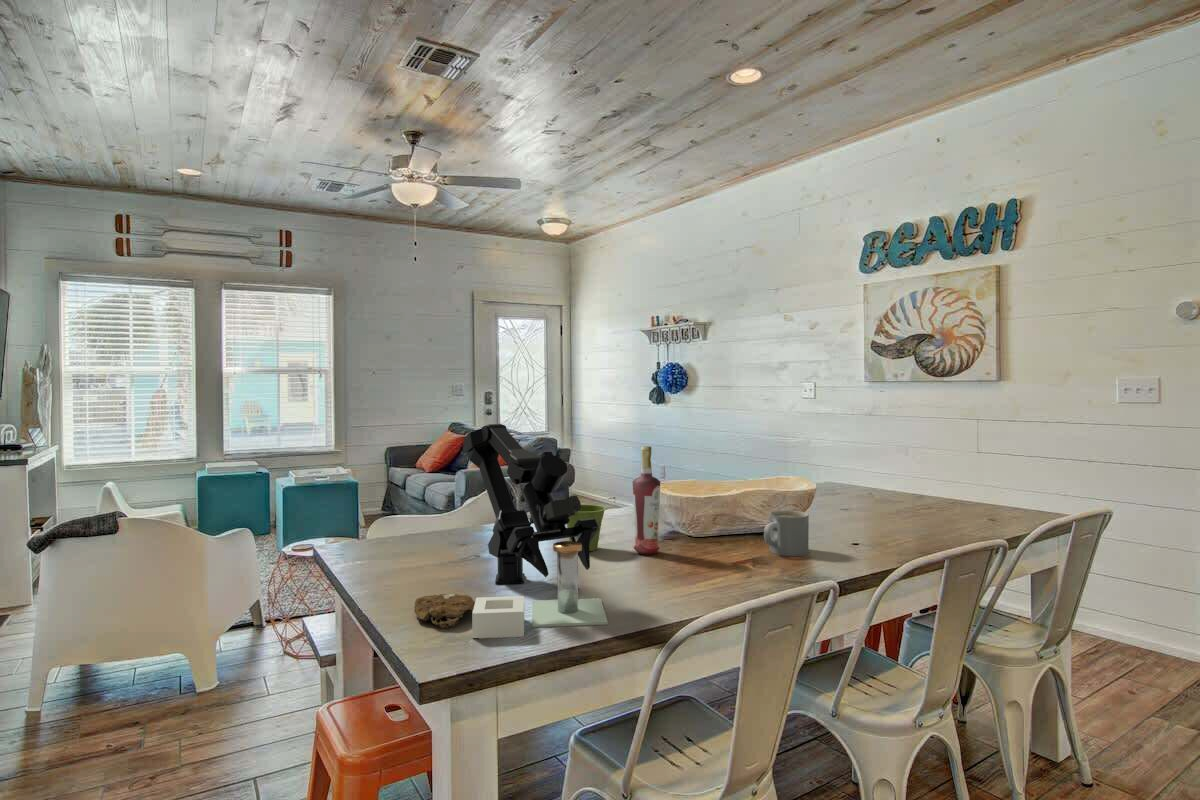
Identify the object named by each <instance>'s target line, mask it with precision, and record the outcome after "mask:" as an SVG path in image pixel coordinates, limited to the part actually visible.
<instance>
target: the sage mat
mask: <svg viewBox="0 0 1200 800" xmlns="http://www.w3.org/2000/svg"><path fill="white" fill-rule="evenodd" d="M531 602H532V605H531V606H532V607H531V608H532V609H531V610H532V611H531V614H532V616H531V617H532V618H531V621H532V622H531V623H532V625H531V626H532V628H547V627H549V628H550V627H551V628H552V627H574V626H575V627H577V626H597V625H599V626H601V625H602V626H604V625H609V623H608V622H609V621H608V617H607V614H606V612H605V608H604V606H603V603H602V599H601V598H600V597H599V598H578V611H577V612H576V613H572V614H563V613H559V612H558V599H545V600H544V599H543V600H541V599H540V600H532V601H531Z"/></svg>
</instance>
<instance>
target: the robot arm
mask: <svg viewBox="0 0 1200 800" xmlns="http://www.w3.org/2000/svg"><path fill="white" fill-rule="evenodd" d="M507 428H508V427H507V425H505V424H503V423H492V424H491V423H489V424H486V425H483V426H482V427H481V428H479V429H476V430H474V431H471V432H468V434H467V435H466V436H465V437H464V438H463V440H462V447H463V450H464V452H465V453H466V455H467V457H468V460H469V462H471V463H472V464H474V466H476V467H477V468H478V470H479V471H480V475H481V477H482V480H483V483H484V487H485V489H486V492H487V495H488V498H489V501H490V505H491V506H492V507H491V508H492V510H493V513H494V516H495V521H494V524H493V528H492V533H493V534H491V538H490V540H489V542H487V543H488V544H487V547H488V553H489V555H492V556H493V557H495V558H497V574H496V575H495V581H494V582H495V585H503V584H505V585H507V584H524V583H525V577H526V575H525V574H526V573H524V569H523V568H524V567H523V566H524V564H523V563H524V561H526V562H527V563H529V564H530V565H531V566H533V568H535V569H536V570H537V571H538V572H539V573H540V574H542V575H543V576H544V577H548V576H549V570H548V566H547V563H546V562H545V559H544V557H543V554H542V552H541V548H540V546H539V545H540V544H539V542H540V543H541V542H546V541H555V540H562V539H567V538H568V539H569V538H570V537H571V540H572V541H575V542H580V543H581V544H582V550H581V551H579V552H578V559H579V561H580V562H581V564H582V565H583V567H584V569H586V570H587V571H588V570H589V569H590V567H591V559H590V555H591V554H590V551H589V544H590V541H591V540H592V539H593V537H594V536H595V534H596V532H597V531H598V529H599V528H600V527H599V525H598V523H597V521H596V520H595V519H593V518H588V519H580V520H578V521H577V522H576V524H575V525H574V527H570V528H567V526H566V525H567V524H568V523H569V521H570V520H569V518H568V517H570V516H572V515H575V513H576V512H578V511H580V510H581V504H582V503H581V500H580V499H579V497H578V495H570V496H569V497H566V498H564V499H556V500H555V498H554V495H553V493H554V492H556V491H557V489H558V488H559V486H560V484H561V483H562V481H563V480H564V477H565V475H566V474H567V472H568V465H567V463H566V461H564V460H563V459H562V458H561V457H559V456H557V455H554V454H553V452H552V451H542V453H541V455H538V454H537V453H535V452H533V451H529V450H526V449H525V448H523V447H522V445H521V444H520V443H519V442H518V440H516V439H515V438H514V437H513V435H512V434H511V433H510V432H509V431H508V429H507ZM499 456H500V458H502V460H503V461H504V462H505V464H506V465H507V471H506V473H507V475H508V477H509V479H510V481H511V482H512V483H513V484H514V485H516V486H517V485H525V486H524V487H523V489H522V491H521V493H522V494H521V495H520V502H521V503H525V504H526V507H527V508H528V509H527V510H528V511H529V514H530V517H529V516H528V513H527V512H526V511H525V510H523V509H520V510H518V509H517V508H516V506H515V503H514V501H513V498H512V495H511V492H510V489H509V486H508V484H507V482H506V478H505V476H504V473H503V470H502V467H501V464H500V462H499ZM533 524H534V527H535V528H534V527H533V526H532V525H533ZM600 529H601V528H600ZM535 530H536V531H535Z"/></svg>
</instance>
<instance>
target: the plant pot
mask: <svg viewBox="0 0 1200 800" xmlns="http://www.w3.org/2000/svg"><path fill="white" fill-rule="evenodd" d="M606 510H607V508H606V507H605V506H604V505H598V504H587V503H586V504H585V503H584V504H582V503H581V510H580V511H578V512H576V513H575V515H572V516H570V517H568V518H569V520H570V521H569V523H568V524H566V528H570V527H574V525H575V524H576V522H577V521H578V520H580V519H588V518H593V519H595V520H596V521H597V523H598V525H599V527H600V528H599V529H598V531H597V532H596V534H595V536H594V537H593V539H592V540H591V541H590V544H589V552H594V551H596V550H598V546H599V542H600V541H599V540H600V532H601V527H602V521H603V518H604V514H605V511H606ZM568 539H569V540H568V541H572V540H571V537H570V538H568Z"/></svg>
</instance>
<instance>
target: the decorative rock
mask: <svg viewBox="0 0 1200 800" xmlns="http://www.w3.org/2000/svg"><path fill="white" fill-rule="evenodd" d="M475 601H476V600H474V599H473V597H472V596H471V595H467V594H458V593H444V594H443V593H441V594H433V595H424V596H421V597H418V598H416V599H415V601H414V610H413V611H414V613H415V615H416V617H417V618H418V619H419V620H421V621H423V622H427V621H431V623H432V624H434V625H435V626H437V627H439V628H440V629H446V628H445V627H449V628H450V626H451V627H456V626H458V624H459V622H460V619H461V620H462V619H463V617H464V616H465V614H466V613H467V612H468V611H470V610H471V611H473V609H474V605H475ZM442 627H443V628H442Z"/></svg>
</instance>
